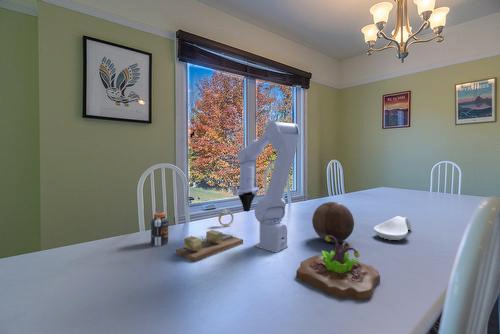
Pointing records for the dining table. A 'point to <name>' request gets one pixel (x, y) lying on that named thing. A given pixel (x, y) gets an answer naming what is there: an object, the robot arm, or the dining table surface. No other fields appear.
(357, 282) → the plant
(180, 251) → the flat brown board
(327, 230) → the wooden sphere
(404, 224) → the spoon rest
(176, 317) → the dining table surface
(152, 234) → the pill bottle
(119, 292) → the dining table surface
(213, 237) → the block
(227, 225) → the ring
